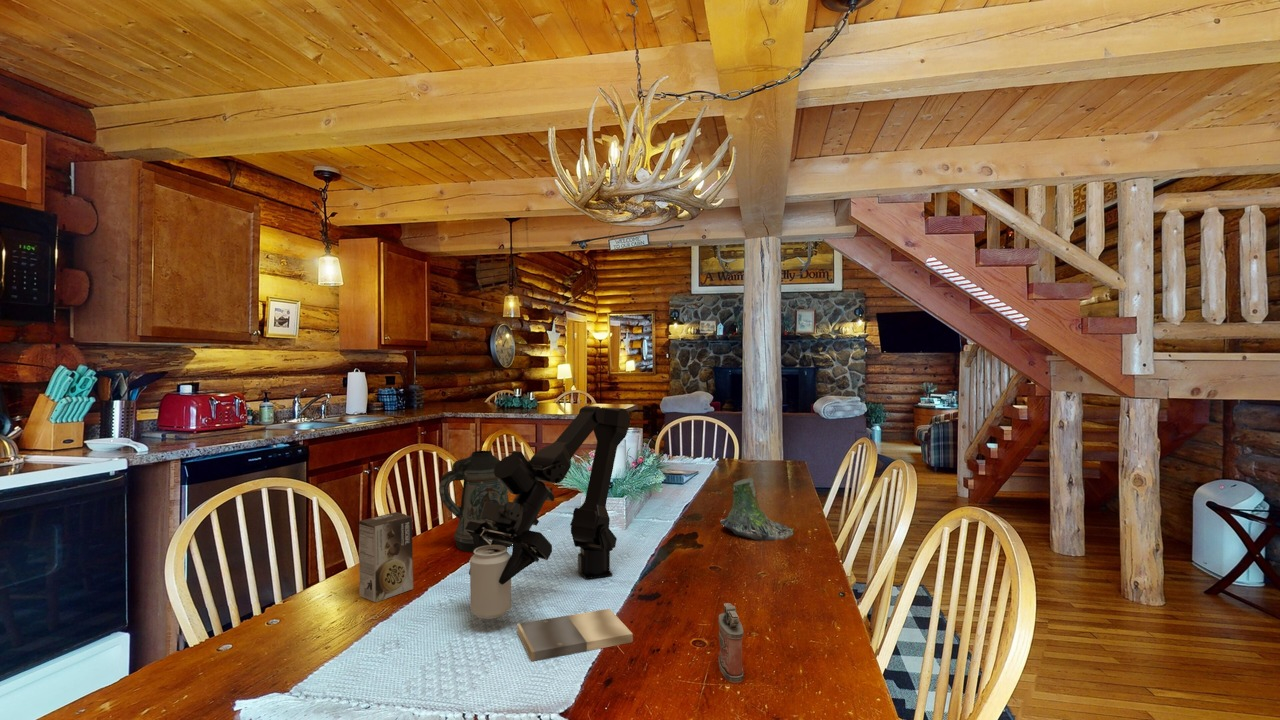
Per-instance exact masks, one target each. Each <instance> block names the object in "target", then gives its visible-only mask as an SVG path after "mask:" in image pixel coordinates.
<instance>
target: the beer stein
mask: <svg viewBox="0 0 1280 720" xmlns="http://www.w3.org/2000/svg"><path fill="white" fill-rule="evenodd" d="M500 461H501V459H499V458H498V457H496V456H494V455H493V452H492V450H491V451H490V450H475V451H472V453H471V455H469V456H468V457H466V458H461V459H458V460H456V461H455V462H453V465H452V470H449V471H447V472H446V473H444V474H443V475H442V476H441V478H440V480H441V481H440V482H439V488H438V490H439V491H438V492H439V496H440V500H441V501H442V503H443V504H444V506H445V508H447V510H448V511H450V513H452V515H453V516H455V517H456V518H458V524H457V526H456V529H455V532H454V541H455V545H456V548H457V550H459V551H463V552H466V553H473V550H474V542H473V539H472V538H471V537H470V535H469V534H468V533H467V532H466V531H465V528H466V526H467V525H468V523H469V521H472V520H479V521H484V522H487V523H488V524H489V525H490V526H491V527H492V528H493V529H494V530H497V529H498V528H497V527H494V526H493V525H492V522H493V521H491V520H488V519H481V518H480V517H481V513H482V510H483V507H484V504H485V502H490V503H496V504H501V505H505V504H506V503H508V502H510V501H509V491H508V489H507V488H506V487H505V486H504V485H503V484H502V483H501V482H500V481H499V479H498V478H497V477H496V476H495V475H494V469H495V466H496V464H497V463H498V462H500ZM455 481H457V482H458V481H463V484H462V485H463V486H462V494H461V500H460V506H458V505H457V503H456V502H454V500H453V498H452V496H451V495H450V493H449V487H450V484H451V483H452V482H455ZM495 545H502V546H505V547H509V546H511V545H512V544H508V543H503V542H499V541H497V542H496V544H495ZM512 546H513V545H512ZM512 546H511V547H512ZM509 548H510V547H509Z"/></svg>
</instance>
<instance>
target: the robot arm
mask: <svg viewBox="0 0 1280 720" xmlns="http://www.w3.org/2000/svg"><path fill="white" fill-rule="evenodd" d="M630 425H631V415H630V414H629V412H628V411H627V409H626V408H622V407H621V408H620V407H605V406H603V407H600V406H595V405H594V406H593V405H584V406H582V407H581V408H580V409H579V412H578V414H577V415H576V416H575V418H574V419H573V420H572V421H571V422H570V423H569V425H568V426H567V427H566V428H565V429H564V431H562V433H561V434H560V435H559V437H557V439H556V440H555V441H554V442H552V443H551V444H550V445H548V446H545V447H543V448H541V449H539V450H538V451H537V452H535V453H534V455H533V456H531V458H530V459H529V460H528V459H526V457H525V454H524V453H523V452H522V451H519V450H513V451H512V453H510V455H507V456H505V457H503V458H502V459H500V462H498V463H497V464H496V466H495V469H494V475H495V476H496V477H497V478H498V479H499V481H500V482H501V483H502V484H503V485H504V486H505V487H506V488H507V492H508V493H510V494H512V495H515V497H514V498H513V501H509V502H508V503H506V504H505V505H501V504H496V503H490V502H485V504H484V507H483V510H482V513H481V517H480V518H481V519H488V520H491V521H493V522H492V525H493V526H494V527H497V528H498V529H497V530H494V529H493V528H492V527H491V526H490V525H489V524H488V523H487V522H484V521H479V520H472V521H469V523H468V525H467V526H466V528H465V531H466V532H467V533H468V534H469V535H470V537H471V538H472V539H473V542H474V550H475V549H476V548H478V547H481V546H486V545H495V544H496V542H497V541H499V542H503V543H508V544H513V545H512V552H511V554H510V555H511V557H510V559H509V561H508V563H507V565H506V566H505V568H504V570H503V572H502V574H501V577H500V579H499V583H500V584H502V585H503V584H504V583H506V582H507V581H508V580H510V579H511V580H512V578H514V577H515V576H516V575H518V574H519V573H520V572H521V571H523V570H524V569H526V568H527V567H529V566H531V565H532V564H534V563H538V562H539V561H540V559H541V560H545V561H548V560H549V559H550V556H551V554H552V552H553V545H552V543H551V542H550V541H549V540H548V539H547V538H546V537H545V535H543V534H542V532H540V531H535V530H531V528H532V526H538V524H539V523H540V520H538V518H537V517H538V515H539V514H540V511H541V510H542V509H543V505H544V504H545V503H546V501H549V502H554V501H555V495H554V493H553V487H549V486H547V485H546V484H545V483H552V484H560V483H561V482H562V481H563V480H564V479H565V477H566V476H567V474H568V473H569V470H570V468H571V467H572V458H573V456H574V455H575V454H576V452H577V451H578V450H579V449H580V447H581V446H582V445H583V443H584V442H586V440H587V438H589V436H590V435H591V434H592V433H594V437H595V439H596V447H595V450H594V455H593V461H592V465H591V466H592V467H591V470H590V475H589V479H588V484H587V489H586V495H585V499H584V502H583V503H582V504H581V506H580V507H575V508H574V510H573V512H572V513H573V514H572V518H571V519H572V520H571V522H570V525H569V526H570V533H571V534H570V535H571V537H572V541H573V544H574V547H575V548H577V547H578V548H580V550H579V553H578V554H577V571H578V573H580V574H581V576H582V577H583V578H584V579H586V580H590V579H591V580H592V579H597V578H604V577H609V576H610V577H611V576H613V572H612V571H611V567H610V565H611V563H610V562H611V561H610V559H611V557H610V555H611V554H610V551H613V549H614V548H616V545H617V537H616V535H615V534H614V532H613V531H612V530H611V529H610V515H609V513H608V510H607V506H606V505H607V501H608V497H609V491H610V490H609V489H610V486H611V480H612V474H613V471H614V464H615V461H616V454H617V450H618V446H619V445H620V444H621V442H623V440H624V439H625V438H626V436H627V435H628V434H627V433H628V431H629V427H630ZM474 550H473V552H472V556H473V555H474ZM468 575H469V576H470V569H469V571H468Z"/></svg>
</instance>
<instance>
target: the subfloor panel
mask: <svg viewBox="0 0 1280 720" xmlns="http://www.w3.org/2000/svg"><path fill="white" fill-rule="evenodd" d="M516 627H517V628H516V630H517V631H516V633H517V634H518V637H519V636H520V637H519V638H520V640H522V641H521V643H522V642H523V643H522V645H523V644H524V645H523V646H525V647H524V648H526V649H525V651H526V650H527V651H526V653H527V655H528V656H529V659H530V660H531V662H535V661H536V662H537V661H541V660H546V659H551V658H558V657H563V656H567V655H572V654H577V653H578V654H579V653H582V652H588V651H593V650H598V649H599V650H600V649H603V648H609V647H616V646H620V645H626V644H630V643H631V644H632V643H633V641H634V638H633V637H634V634H633V632H632V631H631V630H630V629H629V628H628V627H627V626H626V625H625V623H623V621H621V619H620V618H619V617H618V616H617V615H616V614H615V612H613V611H612V609H611V608H605V609H599V610H594V611H589V612H588V611H587V612H580V613H575V614H569V615H564V616H563V615H562V616H557V617H551V618H550V617H549V618H544V619H538V620H532V621H525V622H520V623H517V624H516Z"/></svg>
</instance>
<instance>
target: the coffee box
mask: <svg viewBox="0 0 1280 720" xmlns="http://www.w3.org/2000/svg"><path fill="white" fill-rule="evenodd" d="M358 544H359V545H358V557H359V558H358V561H359V562H358V563H359V564H358V565H359V566H358V569H359V573H358V575H359V577H358V578H359V597H360V598H363V599H366V600H369V601H370V602H374V603H378V602H382V601H384V600H386V599H390V598H392V597H395V596H398V595H401V594H402V593H406V592H409V591H411V590H413V589H414V563H413V562H414V557H413V556H414V555H413V552H414V551H413V550H414V549H413V516H412V515H407V514H405V513H402V512H397V511H395V512H391V513H387V514H386V513H385V514H382V515H379V516H374V517H370V518H367V519H362V520H359V521H358Z"/></svg>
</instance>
